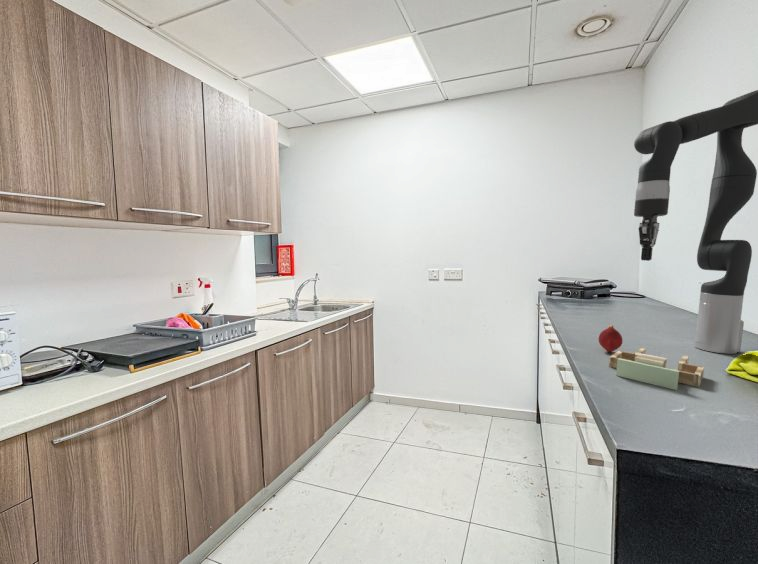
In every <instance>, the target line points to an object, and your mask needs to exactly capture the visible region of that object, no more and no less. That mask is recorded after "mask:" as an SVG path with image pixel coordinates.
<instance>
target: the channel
mask: <svg viewBox="0 0 758 564" xmlns="http://www.w3.org/2000/svg"><path fill="white" fill-rule="evenodd" d="M640 353H641V354H646V348H644V347H641V348H639V349H638V350H637V351H635V352H629V351H625V350H618V351H616V352H614V353H613V354H611V355H610V356H609V358H608V368H613V369H617V360H618V358H620V359H625V360H629V361H634V362H635V358H636V357H637V356H638V355H639V354H640ZM689 360H690V359H689V356H688V355H683V356H682V357H681V358H680V360H679V362H678V363H677V364H678V366H677V370H678V371H679V378H678V384H684V385H689V386H693V387H697V388H699V387H700V386H701V382H702V381H703V378H704V371H705V367H704V366H701V365H696V364H691V363H689Z"/></svg>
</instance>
